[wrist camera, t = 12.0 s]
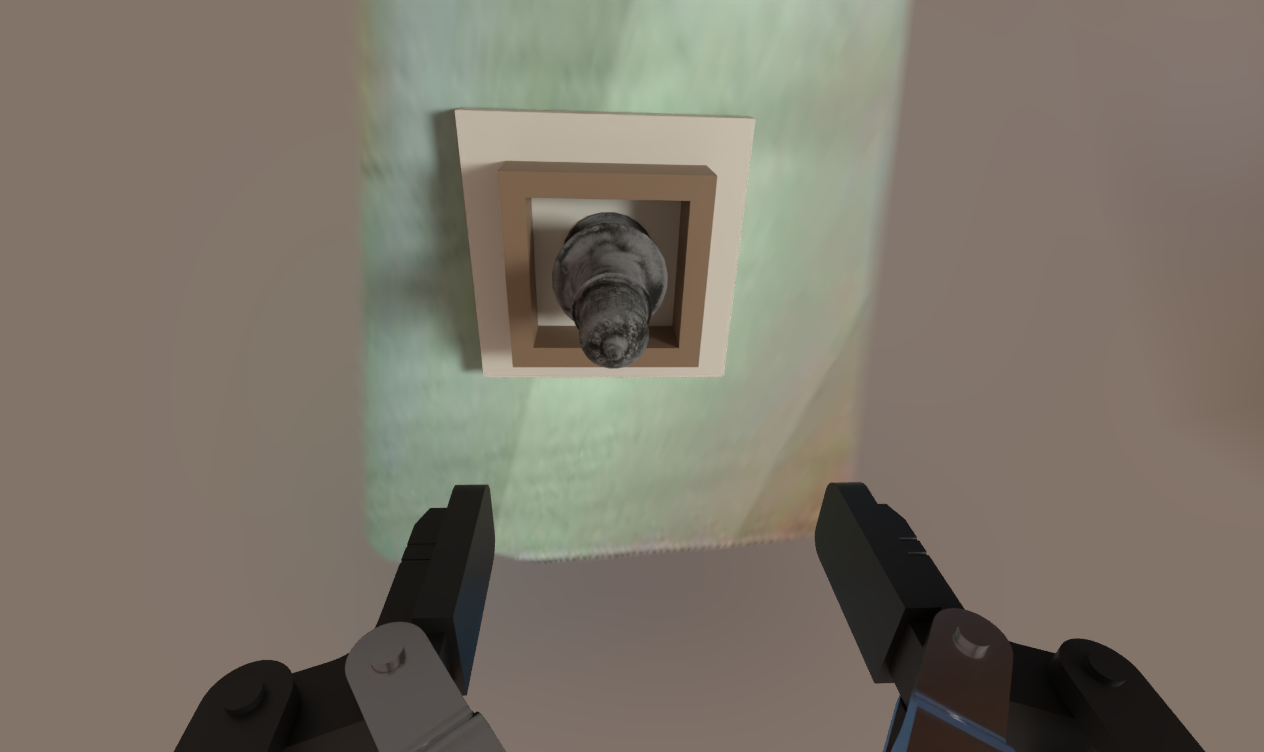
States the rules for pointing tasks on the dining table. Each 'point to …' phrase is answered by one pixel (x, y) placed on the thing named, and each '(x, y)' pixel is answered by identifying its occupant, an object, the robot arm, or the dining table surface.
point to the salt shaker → (610, 286)
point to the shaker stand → (586, 185)
